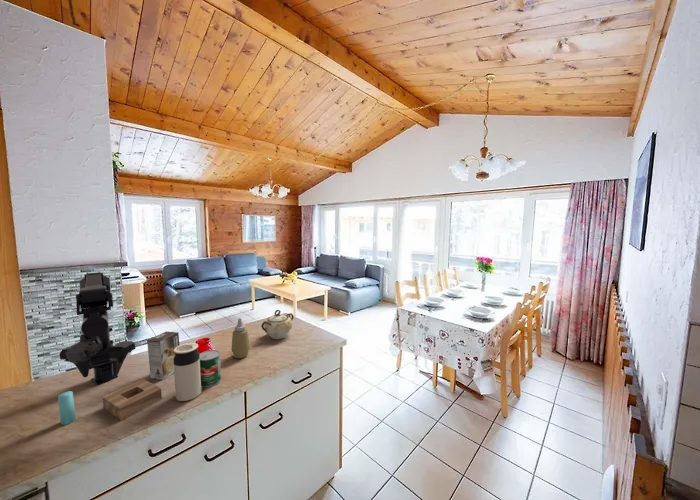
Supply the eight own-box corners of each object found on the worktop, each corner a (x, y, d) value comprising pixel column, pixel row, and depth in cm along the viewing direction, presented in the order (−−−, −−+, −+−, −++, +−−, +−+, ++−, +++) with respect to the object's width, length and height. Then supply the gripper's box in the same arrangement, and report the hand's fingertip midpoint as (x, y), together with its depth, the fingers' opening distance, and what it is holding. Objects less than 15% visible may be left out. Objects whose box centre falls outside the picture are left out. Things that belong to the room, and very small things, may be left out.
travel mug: (183, 404, 94) (180, 354, 92) (171, 396, 98) (168, 348, 96) (205, 392, 101) (203, 345, 99) (193, 385, 105) (191, 340, 103)
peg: (59, 422, 85) (56, 395, 84) (73, 416, 88) (70, 390, 87) (63, 426, 84) (60, 398, 83) (77, 419, 87) (74, 393, 86)
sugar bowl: (269, 346, 138) (269, 317, 136) (254, 337, 148) (254, 310, 146) (301, 334, 152) (301, 308, 151) (286, 327, 162) (285, 302, 161)
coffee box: (168, 366, 118) (166, 330, 117) (181, 368, 117) (179, 332, 115) (149, 378, 109) (146, 339, 108) (163, 380, 108) (160, 341, 106)
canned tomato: (217, 373, 113) (215, 348, 112) (224, 381, 108) (223, 354, 107) (195, 381, 108) (194, 354, 107) (202, 390, 102) (200, 362, 101)
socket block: (103, 408, 92) (102, 396, 92) (143, 388, 103) (143, 378, 102) (120, 420, 86) (119, 408, 86) (161, 398, 97) (161, 388, 97)
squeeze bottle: (227, 358, 126) (226, 320, 124) (240, 350, 133) (239, 314, 131) (241, 361, 123) (240, 322, 121) (254, 353, 130) (252, 316, 128)
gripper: (37, 339, 78) (43, 392, 79) (106, 336, 79) (111, 388, 80) (74, 326, 89) (79, 372, 90) (134, 323, 90) (138, 369, 91)
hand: (101, 376), depth 87 cm, fingers open, 9 cm apart
